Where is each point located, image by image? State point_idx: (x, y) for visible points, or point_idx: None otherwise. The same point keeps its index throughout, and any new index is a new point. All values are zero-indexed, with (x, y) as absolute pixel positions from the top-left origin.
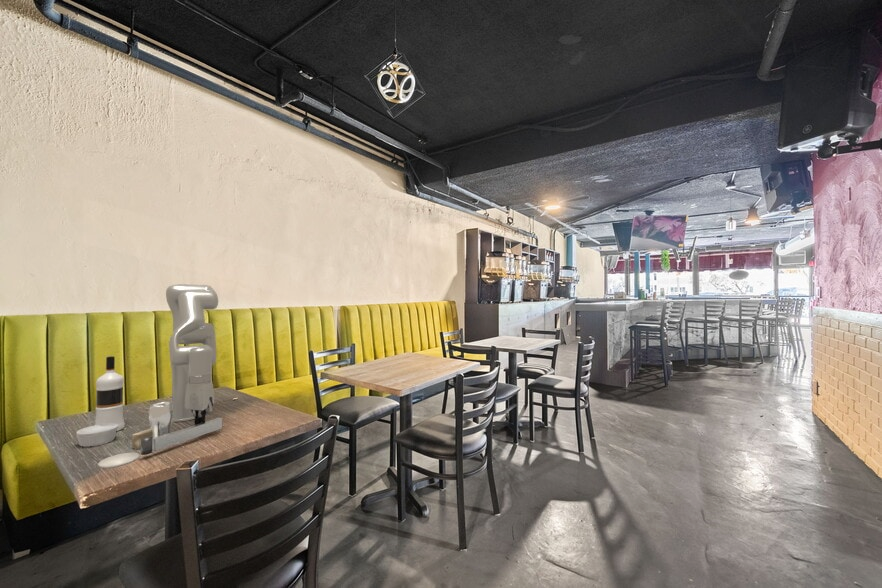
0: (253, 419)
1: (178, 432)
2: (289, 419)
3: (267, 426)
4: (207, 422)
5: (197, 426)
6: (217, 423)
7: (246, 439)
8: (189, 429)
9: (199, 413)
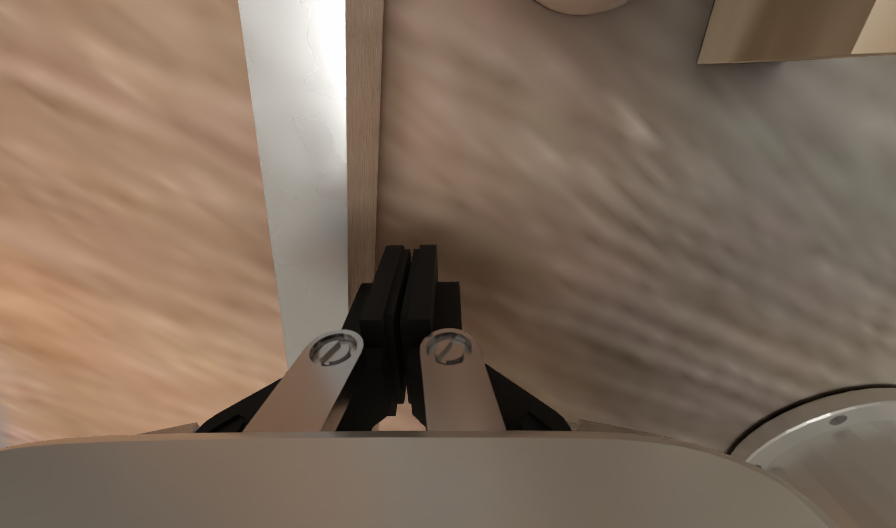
0: None
1: None
2: None
3: None
4: (295, 320)
5: (268, 184)
6: None
7: (5, 276)
8: (253, 44)
9: (316, 387)
